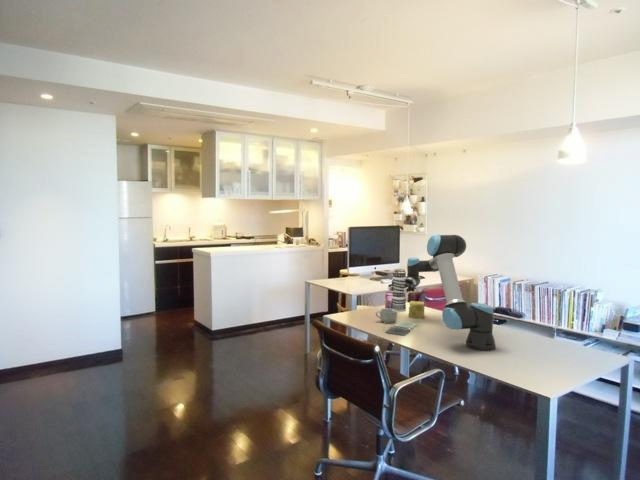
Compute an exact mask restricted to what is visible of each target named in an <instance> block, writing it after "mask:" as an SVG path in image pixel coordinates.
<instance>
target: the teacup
mask: <svg viewBox="0 0 640 480" xmlns="http://www.w3.org/2000/svg"><path fill="white" fill-rule="evenodd" d="M397 313H398V312H395V311H392V309H391V308H385V307H384V308H381V309H380V310H377V311H376V312H375V316H376V318H379V320H381V321H382V322H383V323H385V324H393V323H394V322H395V321H396V320H397ZM378 314H380V316H379V315H378Z"/></svg>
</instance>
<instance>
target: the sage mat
mask: <svg viewBox="0 0 640 480" xmlns="http://www.w3.org/2000/svg"><path fill="white" fill-rule="evenodd" d="M416 325H417V326H418V325H419V323H416V322H408V321H402V320H400V321H398V322H397V323H395V324H394V325H393V327H394V328H401V327H402V328H401V329H408V328H410V329H409V330H413V329H414V328H416V327H417V326H416Z"/></svg>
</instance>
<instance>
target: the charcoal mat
mask: <svg viewBox="0 0 640 480" xmlns="http://www.w3.org/2000/svg"><path fill="white" fill-rule="evenodd" d="M409 331H410V332H411V329H408V328H401V327H394V326H393V327H392V326H391V327H390V328H388V329H387V330H386V331H384V333H385V334H389V335H394V336H395V335H396V336H403V337H406V335H407V334H409V333H410V332H409Z"/></svg>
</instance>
